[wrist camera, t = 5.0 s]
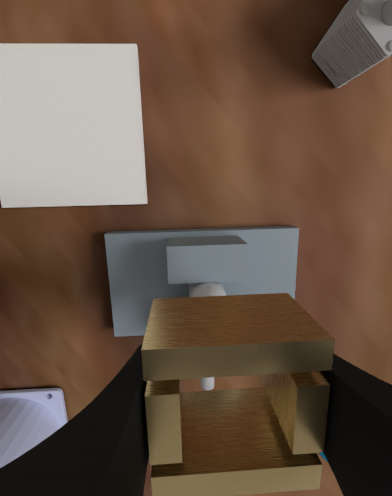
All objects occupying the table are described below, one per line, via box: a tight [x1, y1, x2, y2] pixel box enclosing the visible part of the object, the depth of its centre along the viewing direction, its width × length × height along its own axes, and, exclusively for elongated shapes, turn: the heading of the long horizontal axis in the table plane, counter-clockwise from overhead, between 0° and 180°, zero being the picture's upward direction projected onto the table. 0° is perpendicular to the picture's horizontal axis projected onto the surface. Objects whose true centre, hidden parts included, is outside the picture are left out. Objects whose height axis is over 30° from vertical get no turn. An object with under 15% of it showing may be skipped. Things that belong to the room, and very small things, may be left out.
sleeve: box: [141, 293, 335, 496], centre depth 10 cm, size 6×6×4 cm
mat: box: [0, 44, 147, 208], centre depth 18 cm, size 10×10×1 cm
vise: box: [104, 226, 299, 390], centre depth 18 cm, size 14×12×8 cm
